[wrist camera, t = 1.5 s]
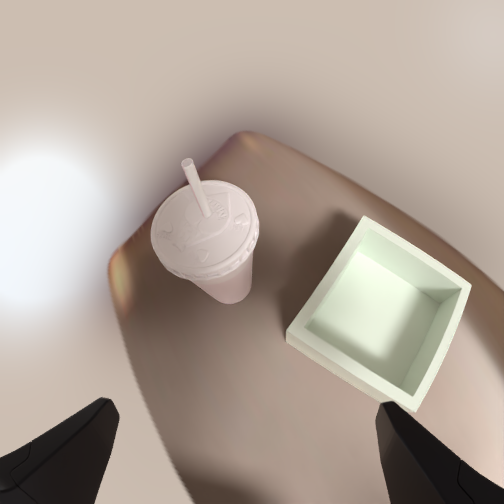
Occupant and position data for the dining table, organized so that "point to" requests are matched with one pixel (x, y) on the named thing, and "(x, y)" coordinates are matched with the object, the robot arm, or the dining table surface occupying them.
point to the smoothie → (208, 236)
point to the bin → (382, 316)
